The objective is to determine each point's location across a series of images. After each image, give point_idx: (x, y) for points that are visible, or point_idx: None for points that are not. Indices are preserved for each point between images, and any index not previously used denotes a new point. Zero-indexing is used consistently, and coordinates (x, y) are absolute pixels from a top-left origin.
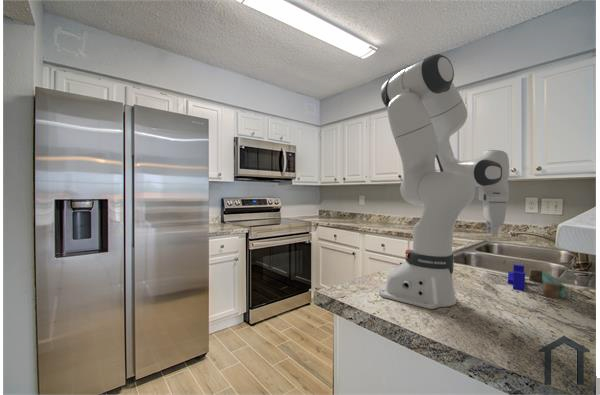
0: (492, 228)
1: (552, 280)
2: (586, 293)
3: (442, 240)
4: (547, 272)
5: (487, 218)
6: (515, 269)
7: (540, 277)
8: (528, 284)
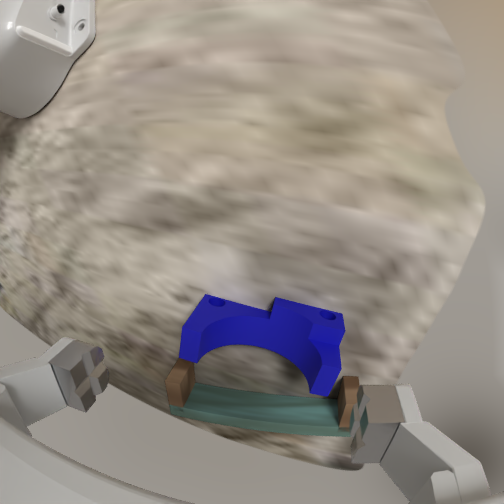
0: (8, 370)
1: (223, 414)
2: (265, 447)
3: None
4: (326, 435)
5: (21, 475)
6: (316, 358)
7: (339, 408)
8: None
